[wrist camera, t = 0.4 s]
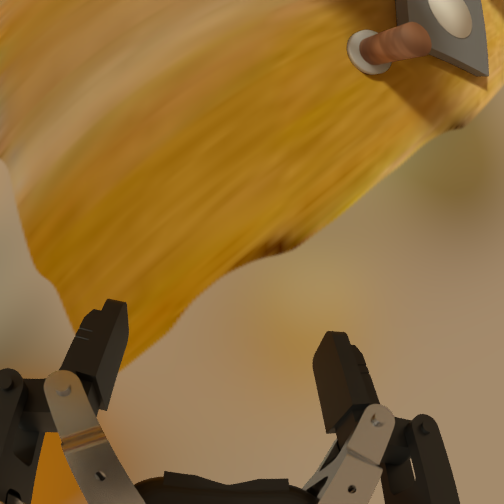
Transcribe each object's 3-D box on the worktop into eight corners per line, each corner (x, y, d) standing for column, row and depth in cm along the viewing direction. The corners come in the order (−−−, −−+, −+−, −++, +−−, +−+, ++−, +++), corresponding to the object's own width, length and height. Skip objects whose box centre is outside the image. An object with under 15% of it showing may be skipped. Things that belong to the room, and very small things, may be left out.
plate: (388, -48, 24) (399, -55, 21) (468, -7, 27) (479, -10, 24) (397, 42, 31) (410, 39, 28) (476, 76, 34) (489, 76, 31)
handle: (346, 26, 30) (391, 4, 20) (387, 38, 31) (437, 23, 21) (346, 69, 33) (394, 57, 23) (387, 78, 34) (440, 73, 24)
